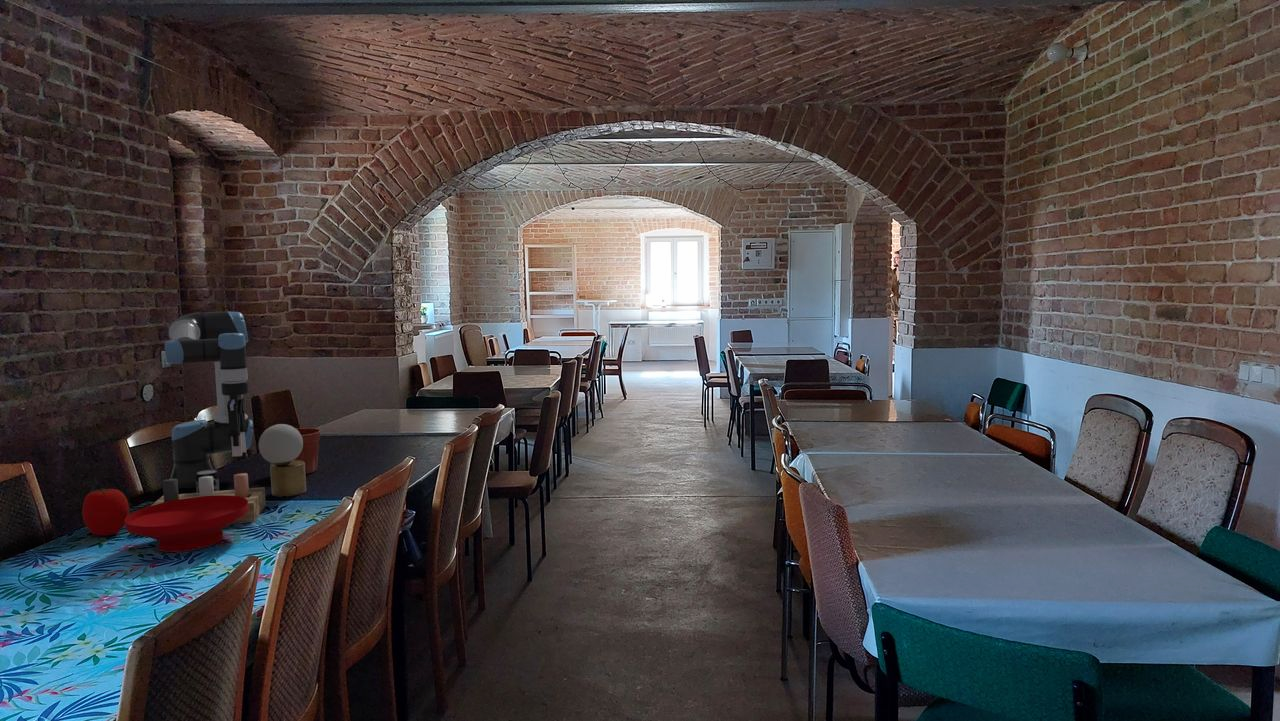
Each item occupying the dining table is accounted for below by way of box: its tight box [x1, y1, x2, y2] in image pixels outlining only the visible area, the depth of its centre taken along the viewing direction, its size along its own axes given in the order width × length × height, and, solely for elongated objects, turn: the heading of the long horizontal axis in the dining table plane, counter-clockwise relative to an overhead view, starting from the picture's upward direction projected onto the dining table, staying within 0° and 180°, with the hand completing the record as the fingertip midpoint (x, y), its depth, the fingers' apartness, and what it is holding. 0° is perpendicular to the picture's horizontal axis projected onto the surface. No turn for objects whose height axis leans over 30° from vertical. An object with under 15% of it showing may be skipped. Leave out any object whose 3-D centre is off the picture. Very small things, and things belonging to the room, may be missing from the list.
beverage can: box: [195, 469, 220, 493], centre depth 257 cm, size 7×7×12 cm
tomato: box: [81, 487, 130, 537], centre depth 230 cm, size 13×11×14 cm
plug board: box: [150, 486, 267, 525], centre depth 245 cm, size 20×30×6 cm, turn 107°
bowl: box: [124, 495, 249, 553], centre depth 220 cm, size 30×30×10 cm
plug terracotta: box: [233, 472, 249, 498], centre depth 247 cm, size 4×4×9 cm
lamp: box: [258, 423, 307, 498], centre depth 271 cm, size 15×14×25 cm
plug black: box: [162, 478, 179, 502], centre depth 241 cm, size 4×4×9 cm
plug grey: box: [199, 476, 214, 497], centre depth 244 cm, size 4×4×9 cm
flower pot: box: [294, 427, 322, 475], centre depth 305 cm, size 16×16×16 cm
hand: (239, 453), depth 246 cm, fingers open, 5 cm apart
